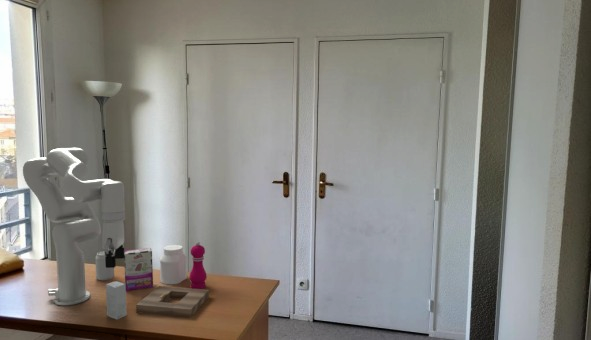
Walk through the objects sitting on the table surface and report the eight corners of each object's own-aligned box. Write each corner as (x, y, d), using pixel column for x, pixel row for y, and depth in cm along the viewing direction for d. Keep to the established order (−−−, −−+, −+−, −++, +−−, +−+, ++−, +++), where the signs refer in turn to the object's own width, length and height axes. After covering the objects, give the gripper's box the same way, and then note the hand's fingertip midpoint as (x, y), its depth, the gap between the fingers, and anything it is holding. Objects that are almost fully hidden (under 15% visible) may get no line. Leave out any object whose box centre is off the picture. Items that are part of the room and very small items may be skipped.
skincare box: (127, 315, 147) (126, 284, 146) (116, 320, 144) (115, 287, 142) (117, 311, 150) (116, 280, 149) (106, 315, 147) (105, 284, 146)
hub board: (190, 317, 147) (190, 308, 146) (136, 312, 150) (135, 303, 149) (208, 296, 164) (208, 288, 164) (159, 292, 167) (159, 285, 167)
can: (109, 281, 179) (108, 255, 178) (92, 281, 179) (91, 255, 178) (117, 275, 186) (116, 250, 185) (101, 275, 186) (100, 249, 185)
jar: (171, 274, 189) (171, 243, 187) (189, 276, 186) (189, 245, 185) (156, 283, 178) (156, 250, 176) (175, 285, 175) (175, 252, 174)
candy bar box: (152, 283, 177) (151, 247, 176) (153, 287, 173) (152, 250, 171) (124, 287, 173) (123, 250, 171) (125, 291, 168) (123, 253, 167)
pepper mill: (202, 290, 170) (201, 244, 168) (186, 289, 172) (185, 243, 170) (209, 284, 177) (209, 240, 175) (194, 282, 179) (193, 238, 177)
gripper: (110, 211, 151) (112, 255, 153) (93, 221, 134) (95, 271, 136) (131, 211, 152) (133, 255, 154) (116, 221, 135) (118, 270, 137)
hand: (115, 262), depth 145 cm, fingers open, 9 cm apart
